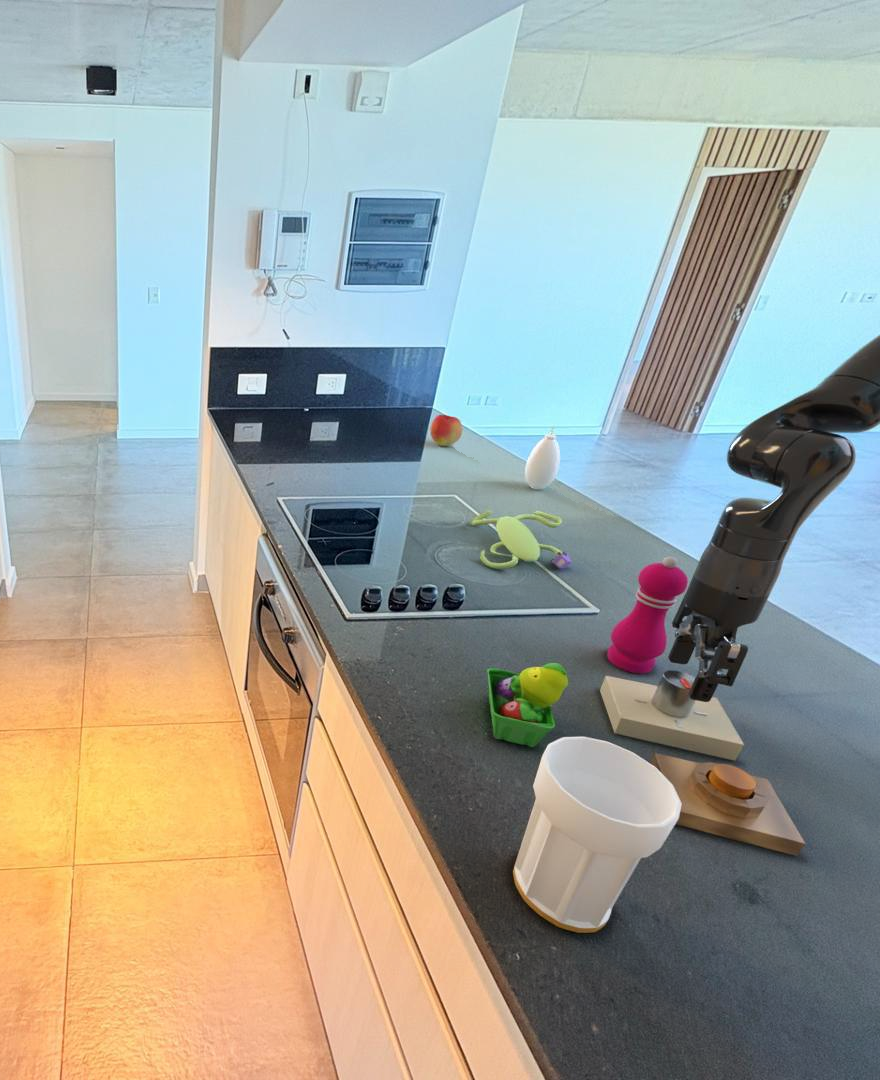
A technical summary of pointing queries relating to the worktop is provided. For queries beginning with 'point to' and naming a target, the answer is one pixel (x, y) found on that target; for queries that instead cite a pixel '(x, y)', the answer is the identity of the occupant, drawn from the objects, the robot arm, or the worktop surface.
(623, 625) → the pepper mill
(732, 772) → the light button
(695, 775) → the switch block
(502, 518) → the figurine
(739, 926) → the worktop surface
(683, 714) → the dimmer knob
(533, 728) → the fruit basket
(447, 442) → the apple
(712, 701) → the dimmer panel
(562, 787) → the cup
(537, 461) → the sauce bottle
